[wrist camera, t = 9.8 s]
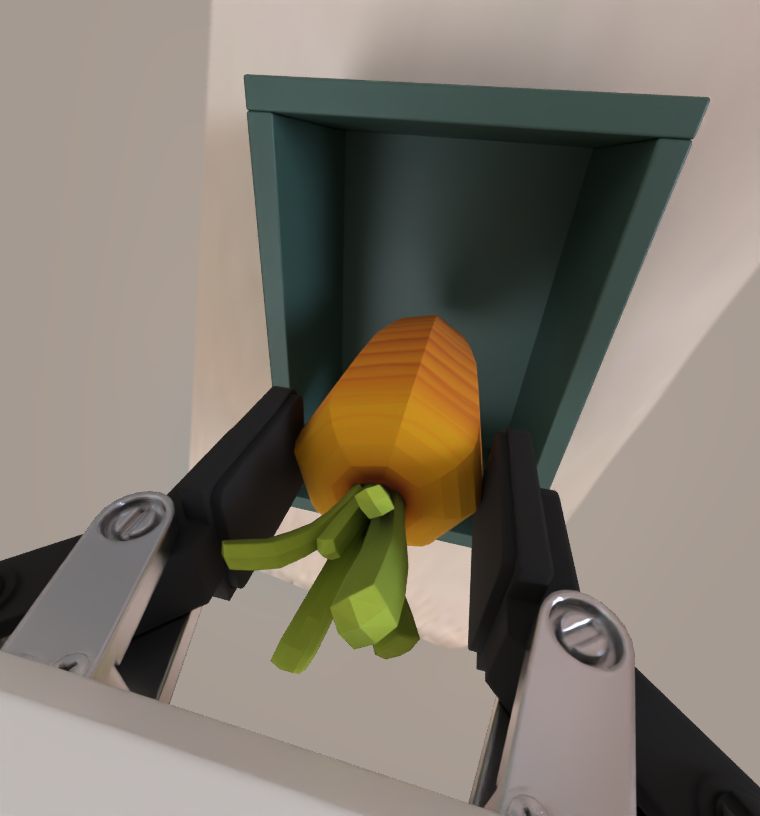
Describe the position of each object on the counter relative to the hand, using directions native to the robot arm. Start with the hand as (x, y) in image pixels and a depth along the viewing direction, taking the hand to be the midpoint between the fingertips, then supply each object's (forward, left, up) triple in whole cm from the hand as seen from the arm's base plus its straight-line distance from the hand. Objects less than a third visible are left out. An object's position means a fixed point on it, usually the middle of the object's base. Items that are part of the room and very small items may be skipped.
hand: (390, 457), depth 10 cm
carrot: (0, 0, -10) cm, 10 cm away
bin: (0, 0, -12) cm, 12 cm away
